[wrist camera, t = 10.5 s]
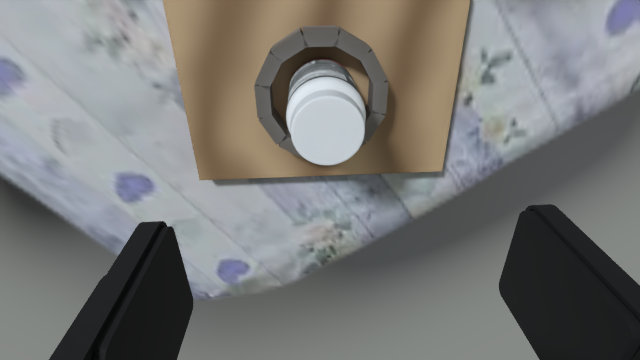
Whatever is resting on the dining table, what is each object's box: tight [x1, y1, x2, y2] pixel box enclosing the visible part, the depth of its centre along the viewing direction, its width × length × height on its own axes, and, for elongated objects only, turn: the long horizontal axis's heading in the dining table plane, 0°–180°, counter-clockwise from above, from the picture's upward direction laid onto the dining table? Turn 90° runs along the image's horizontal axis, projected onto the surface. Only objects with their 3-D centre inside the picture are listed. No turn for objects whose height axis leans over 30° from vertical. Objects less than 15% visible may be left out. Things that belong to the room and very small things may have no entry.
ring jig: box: [163, 0, 470, 180], centre depth 27 cm, size 20×14×4 cm
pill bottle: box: [286, 58, 366, 165], centre depth 23 cm, size 5×5×8 cm
